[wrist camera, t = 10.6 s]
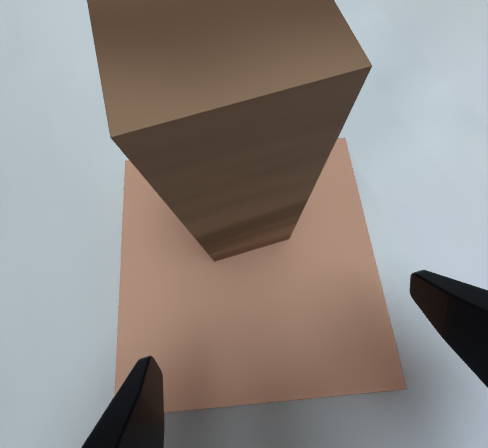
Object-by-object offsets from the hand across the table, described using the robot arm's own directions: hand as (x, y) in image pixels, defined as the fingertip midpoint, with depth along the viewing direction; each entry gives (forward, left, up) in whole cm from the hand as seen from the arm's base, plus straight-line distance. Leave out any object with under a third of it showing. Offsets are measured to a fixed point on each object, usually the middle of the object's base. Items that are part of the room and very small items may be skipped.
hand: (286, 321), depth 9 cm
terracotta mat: (+4, +1, -8) cm, 9 cm away
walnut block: (+7, +1, -7) cm, 10 cm away
